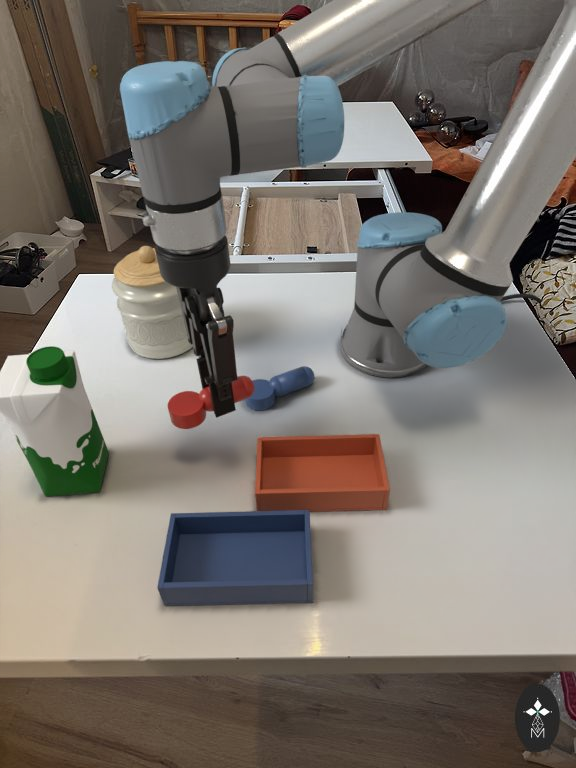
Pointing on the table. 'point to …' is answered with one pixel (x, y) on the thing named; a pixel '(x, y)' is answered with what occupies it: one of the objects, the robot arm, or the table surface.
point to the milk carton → (53, 421)
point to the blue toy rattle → (278, 387)
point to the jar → (149, 307)
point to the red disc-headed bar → (203, 403)
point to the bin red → (321, 473)
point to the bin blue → (237, 558)
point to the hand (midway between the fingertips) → (219, 403)
